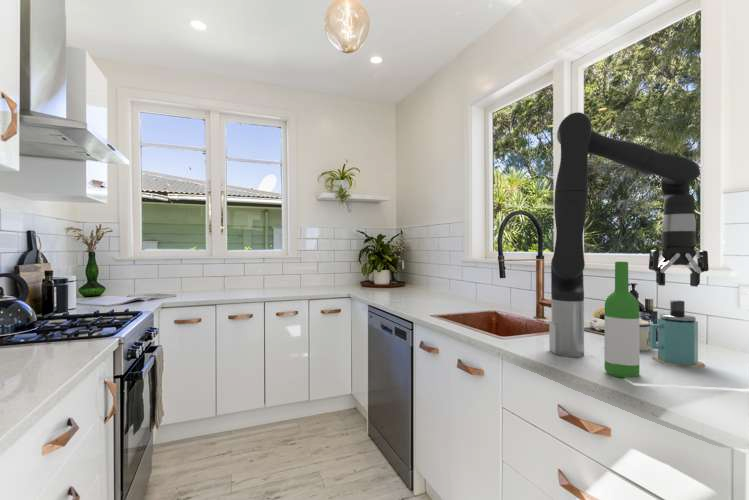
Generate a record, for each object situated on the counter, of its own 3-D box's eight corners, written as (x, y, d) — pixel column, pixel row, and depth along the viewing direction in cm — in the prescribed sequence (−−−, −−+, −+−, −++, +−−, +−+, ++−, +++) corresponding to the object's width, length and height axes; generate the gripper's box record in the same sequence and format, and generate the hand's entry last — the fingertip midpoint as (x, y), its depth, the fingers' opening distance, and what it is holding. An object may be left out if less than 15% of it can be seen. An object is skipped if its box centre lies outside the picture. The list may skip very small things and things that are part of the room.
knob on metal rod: (671, 355, 104) (670, 302, 104) (654, 348, 112) (654, 298, 112) (702, 357, 103) (702, 303, 103) (683, 349, 111) (683, 299, 111)
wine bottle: (637, 381, 92) (637, 262, 92) (601, 374, 97) (601, 261, 97) (641, 374, 98) (641, 261, 98) (607, 367, 103) (607, 261, 103)
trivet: (667, 368, 102) (667, 366, 102) (643, 356, 114) (643, 354, 114) (716, 370, 100) (716, 368, 100) (686, 358, 112) (686, 356, 112)
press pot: (659, 364, 104) (659, 322, 104) (642, 355, 112) (642, 316, 112) (704, 366, 102) (704, 323, 102) (683, 357, 111) (683, 317, 111)
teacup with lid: (655, 353, 118) (655, 316, 118) (623, 351, 120) (623, 315, 120) (638, 343, 129) (638, 310, 129) (609, 342, 131) (609, 309, 131)
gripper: (659, 229, 104) (658, 286, 105) (716, 229, 102) (715, 287, 102) (644, 230, 112) (643, 284, 112) (696, 231, 110) (695, 285, 110)
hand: (677, 285), depth 107 cm, fingers open, 8 cm apart
